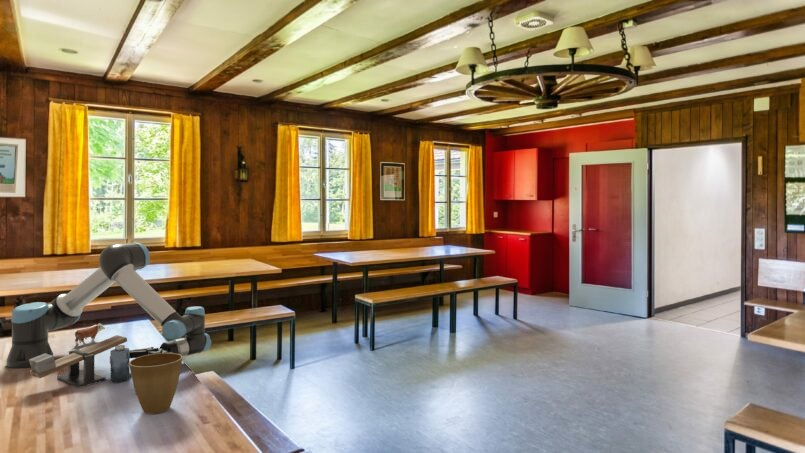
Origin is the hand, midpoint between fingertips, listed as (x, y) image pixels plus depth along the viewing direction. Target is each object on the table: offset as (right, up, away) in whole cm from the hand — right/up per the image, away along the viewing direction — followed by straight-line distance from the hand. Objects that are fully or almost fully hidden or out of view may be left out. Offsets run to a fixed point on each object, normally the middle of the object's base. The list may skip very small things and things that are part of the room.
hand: (120, 363), depth 178 cm
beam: (-14, +2, +1) cm, 14 cm away
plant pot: (+26, -8, -25) cm, 37 cm away
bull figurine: (-43, -4, +50) cm, 66 cm away
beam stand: (-14, -6, +1) cm, 16 cm away
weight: (0, -6, +1) cm, 6 cm away
